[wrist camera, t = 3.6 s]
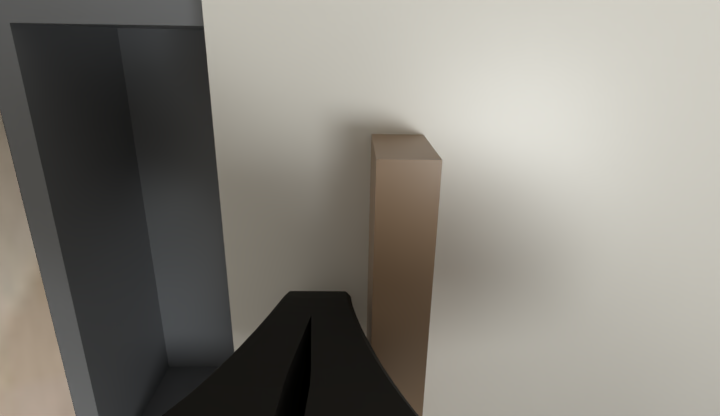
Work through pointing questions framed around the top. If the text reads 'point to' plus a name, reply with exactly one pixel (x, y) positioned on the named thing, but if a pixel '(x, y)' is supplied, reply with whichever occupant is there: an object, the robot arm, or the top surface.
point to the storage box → (120, 193)
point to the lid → (483, 192)
